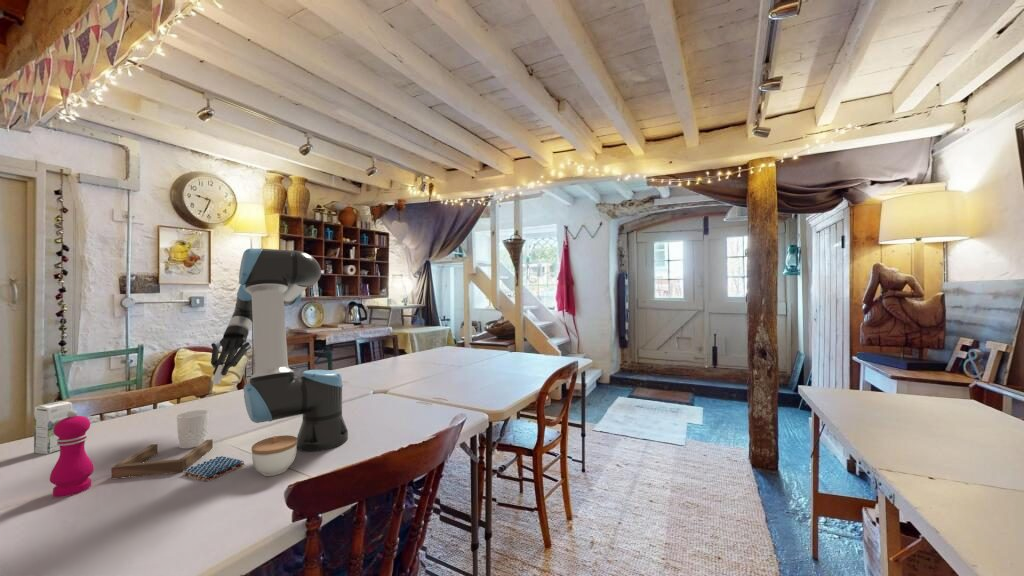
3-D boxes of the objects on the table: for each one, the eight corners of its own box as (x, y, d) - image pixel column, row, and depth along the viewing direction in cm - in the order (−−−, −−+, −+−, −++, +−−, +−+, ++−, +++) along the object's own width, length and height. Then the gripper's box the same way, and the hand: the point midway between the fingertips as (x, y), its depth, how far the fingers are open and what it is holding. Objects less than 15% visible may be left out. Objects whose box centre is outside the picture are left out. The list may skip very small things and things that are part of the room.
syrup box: (58, 445, 122) (58, 400, 122) (72, 447, 121) (72, 401, 121) (33, 453, 117) (33, 406, 117) (47, 454, 116) (47, 407, 116)
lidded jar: (242, 476, 102) (242, 441, 102) (279, 459, 112) (279, 427, 112) (269, 483, 98) (269, 447, 98) (306, 465, 108) (306, 432, 108)
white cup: (190, 450, 118) (190, 418, 118) (170, 448, 120) (170, 416, 120) (214, 440, 126) (214, 410, 126) (195, 438, 128) (195, 409, 128)
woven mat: (206, 484, 99) (206, 476, 99) (180, 477, 102) (180, 470, 102) (247, 466, 108) (247, 459, 108) (222, 461, 112) (222, 454, 112)
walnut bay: (151, 454, 116) (151, 444, 116) (212, 448, 119) (212, 439, 119) (111, 479, 101) (111, 467, 101) (182, 471, 104) (182, 461, 104)
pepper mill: (53, 501, 90) (52, 417, 90) (46, 493, 94) (46, 412, 94) (97, 488, 96) (97, 408, 96) (90, 480, 100) (89, 404, 100)
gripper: (259, 335, 155) (240, 387, 139) (222, 336, 152) (198, 389, 136) (253, 323, 150) (233, 375, 134) (215, 324, 147) (189, 377, 131)
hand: (215, 382), depth 135 cm, fingers closed
